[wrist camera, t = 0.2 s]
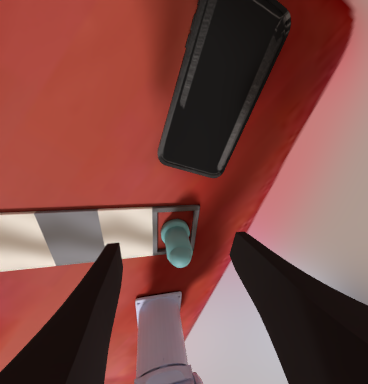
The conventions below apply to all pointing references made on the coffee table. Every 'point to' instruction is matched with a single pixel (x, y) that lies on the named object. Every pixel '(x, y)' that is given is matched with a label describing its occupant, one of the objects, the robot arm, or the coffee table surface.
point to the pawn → (177, 242)
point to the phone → (221, 81)
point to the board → (80, 235)
